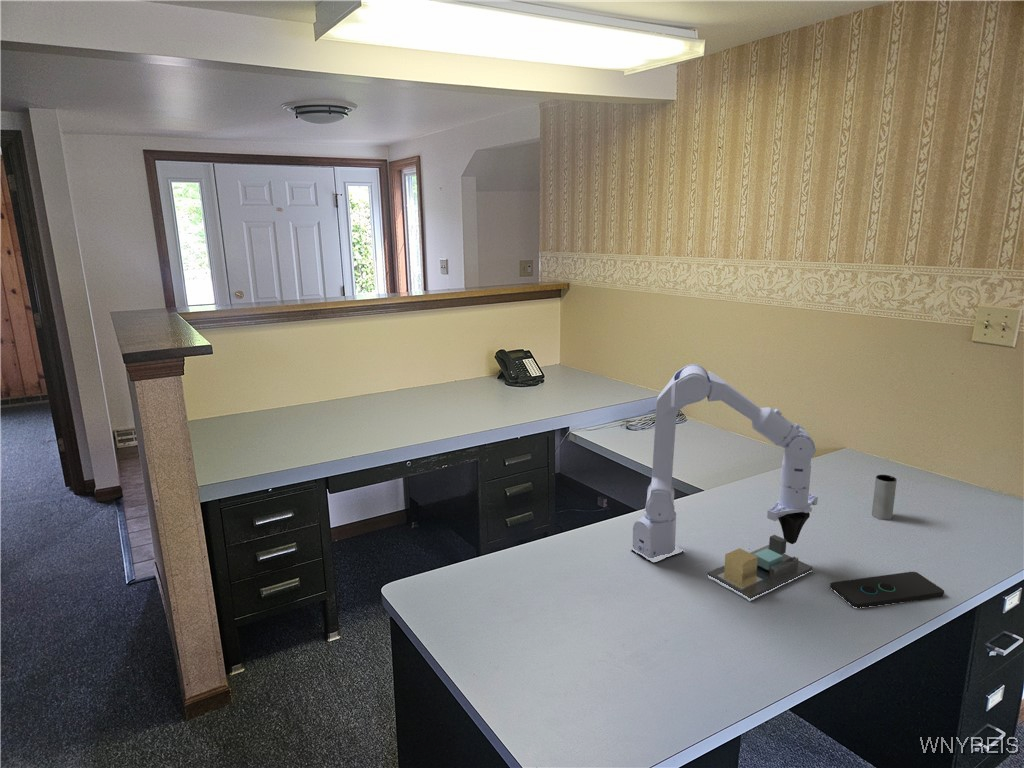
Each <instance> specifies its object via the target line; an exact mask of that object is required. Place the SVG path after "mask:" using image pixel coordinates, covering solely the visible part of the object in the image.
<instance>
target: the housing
mask: <svg viewBox="0 0 1024 768" xmlns="http://www.w3.org/2000/svg"><path fill="white" fill-rule="evenodd" d="M757 560H758V557H757V556H755V555H753V554H751V552H749V551H746V550H745V549H743V548H737V549H735V550H732V551H730V552H727V553H725V555H724V565H725V569H724V576H725V577H727V578H729V579H731V580H732V581H734V582H736V583H738V584H740V585H744V584H746V583H748V582H750V581H753V580H755V579H756V575H757Z"/></svg>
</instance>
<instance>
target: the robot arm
mask: <svg viewBox="0 0 1024 768" xmlns="http://www.w3.org/2000/svg"><path fill="white" fill-rule="evenodd" d="M706 398H707V402H717V401H718V402H720V401H721V402H723V403H724V404H726V405H727V406H728V407H730V408H732V409H734V410H735V411H737V413H740V414H741V415H743V416H744V417H745V418H747V419H749V420H750V421H751V427H752V430H754V431H756V432H757V433H758V434H759V435H761V436H763V437H764V438H766V439H767V440H768V441H770V442H771V443H772V444H774V445H775V446H777V447H780V448H783V449H784V450H783V455H782V461H781V472H780V483H779V498H778V500H777V501H776V502H775V503H774V505H773V506H772V507H771V508H769V509H767V513H766V514H767V515H766V517H767V518H766V519H768V520H771V521H773V522H776V521H778V522H779V524H780V526H781V530H782V535H783V539H785V540H787V541H786V543H788V544H791V545H793V544H796V543H797V541H798V540H799V536H800V533H801V530H802V529H803V527H804V525H805V523H806V522H807V520H808V519H809V518H810V517H811V516H810V513H811V512H812V511H813V508H812V507H811V506H817V505H818V499H819V498H818V497H819V496H818V495H814V494H812V493H809V492H810V483H811V472H812V463H811V462H812V458H813V457H814V456H815V454H816V452H817V448H816V445H815V441H814V440H813V438H812V437H811V435H810V434H809V432H808V431H807V430H806V429H805V428H804V427H803V426H801V425H800V424H798V423H796V422H795V423H793V422H792V421H790V420H788V419H787V418H786V417H784V416H783V415H782V414H783V412H782V411H781V410H780V409H778V408H775V409H773V408H771V407H769V406H767V407H760V406H758V405H757V404H756V403H755V402H753V401H752V400H750V399H749V398H748V397H747V396H745V395H744V394H743V393H742V392H740V391H739V390H738V389H736V388H735V387H734V386H732V385H731V384H729V383H728V382H727V381H726V380H724V379H723V378H721V377H720V376H718V375H717V374H716V373H714V372H711V371H709V370H708V372H707V370H706V368H704V367H703V366H702V365H700V364H696V363H691V364H687V365H685V366H684V367H682V368H680V369H678V370H676V371H675V373H674V374H673V377H671V379H670V380H669V382H667V384H666V385H665V386H664V388H663V389H662V390H661V392H660V393H659V395H658V396H657V399H656V403H655V404H656V407H655V420H654V421H655V423H654V437H653V453H652V454H653V456H652V468H651V469H652V470H651V482H650V484H649V485H648V486H647V489H646V494H647V496H646V503H645V508H644V509H643V515H642V516H641V518H640V519H638V520H636V521H635V522H634V523H633V525H632V547H633V548H634V549H635V550H637V551H638V552H640V553H642V554H644V555H645V556H647V557H648V558H654V557H657V556H660V555H665V554H670V553H672V552H673V551H674V550H675V546H676V534H677V531H676V530H677V512H676V511H675V504H674V503H675V497H676V496H675V488H674V487H673V482H672V481H673V471H674V469H673V468H674V467H673V466H674V454H675V453H674V452H675V440H676V427H677V413H678V412H679V411H680V410H681V409H683V408H685V407H686V406H689V405H692V404H696V403H698V402H701V401H703V400H705V399H706Z"/></svg>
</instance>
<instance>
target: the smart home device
mask: <svg viewBox="0 0 1024 768" xmlns="http://www.w3.org/2000/svg"><path fill="white" fill-rule="evenodd" d="M830 587H831V588H832V589H833V590H835V591H836V592H837V593H838V594H839V595H840V596H841V597H843V598H844V599H845V600H846V601H847V602H849V603H850V604H851V605H852V606H854V607H857V608H860V607H861V608H862V607H869V606H876V607H879V606H878V605H883V606H886V605H885V604H890V605H893V604H892V603H897V604H901V603H900V602H904V603H908V602H909V603H911V602H917V601H923V600H924V601H925V600H931V599H937V598H943V597H944V596H945V590H944V589H943V588H941V587H940V586H938V584H937V585H936V583H934V582H932V581H931V580H930V579H929V578H927V577H925V576H923V575H922V574H920V573H919V572H918V571H907V572H906V571H905V572H900V573H892V574H884V575H877V576H870V577H869V576H868V577H861V578H854V579H846V580H840V581H832V582H830V585H829V588H830ZM840 596H839V597H840ZM841 597H840V598H841ZM846 601H845V602H846ZM847 602H846V603H847ZM852 606H851V607H852ZM869 608H870V607H869ZM862 609H863V608H862Z"/></svg>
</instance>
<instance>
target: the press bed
mask: <svg viewBox="0 0 1024 768" xmlns="http://www.w3.org/2000/svg"><path fill="white" fill-rule="evenodd" d="M766 548H767V549H769V544H767V545H765V546H762V547H760V548H758V549H756V550H754V551H750V553H751V554H755V553H757V552H759V551H762V550H764V549H766ZM781 555H782V556H783V560H782V562H781V563H779V564H777V565H774V566H772V567H770V570H767V569H765V568H763V567H761V566H759V565H757V575H756V579H755V580H753V581H750V582H748V583H746V584H744V585H740V584H738V583H736V582H734V581H732V580H731V579H729V578H727V577H725V576H724V569H725V564H724V565H723V566H720V567H717V568H716V569H712V570H711V571H709V572H707V575H709V576H711V577H713V578H715V579H717V580H719V581H720V582H722V583H724V584H726V585H728V586H729V587H731V588H733V589H734V590H736V591H738V592H740V593H742V594H743V595H745V596H747V597H748V598H750V599H751V598H753V597H755V596H757V595H760V594H762V593H764V592H766V591H769V590H771V589H773V588H775V587H777V586H779V585H781V584H783V583H786V582H788V581H789V580H792V579H794V578H796V577H798V576H800V575H802V574H805V573H807V572H809V571H811V570H812V571H813V566H812V565H809V564H807V563H805V562H803V561H801V560H799V557H796V556H790V555H788V554H785V553H784V554H781Z"/></svg>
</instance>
